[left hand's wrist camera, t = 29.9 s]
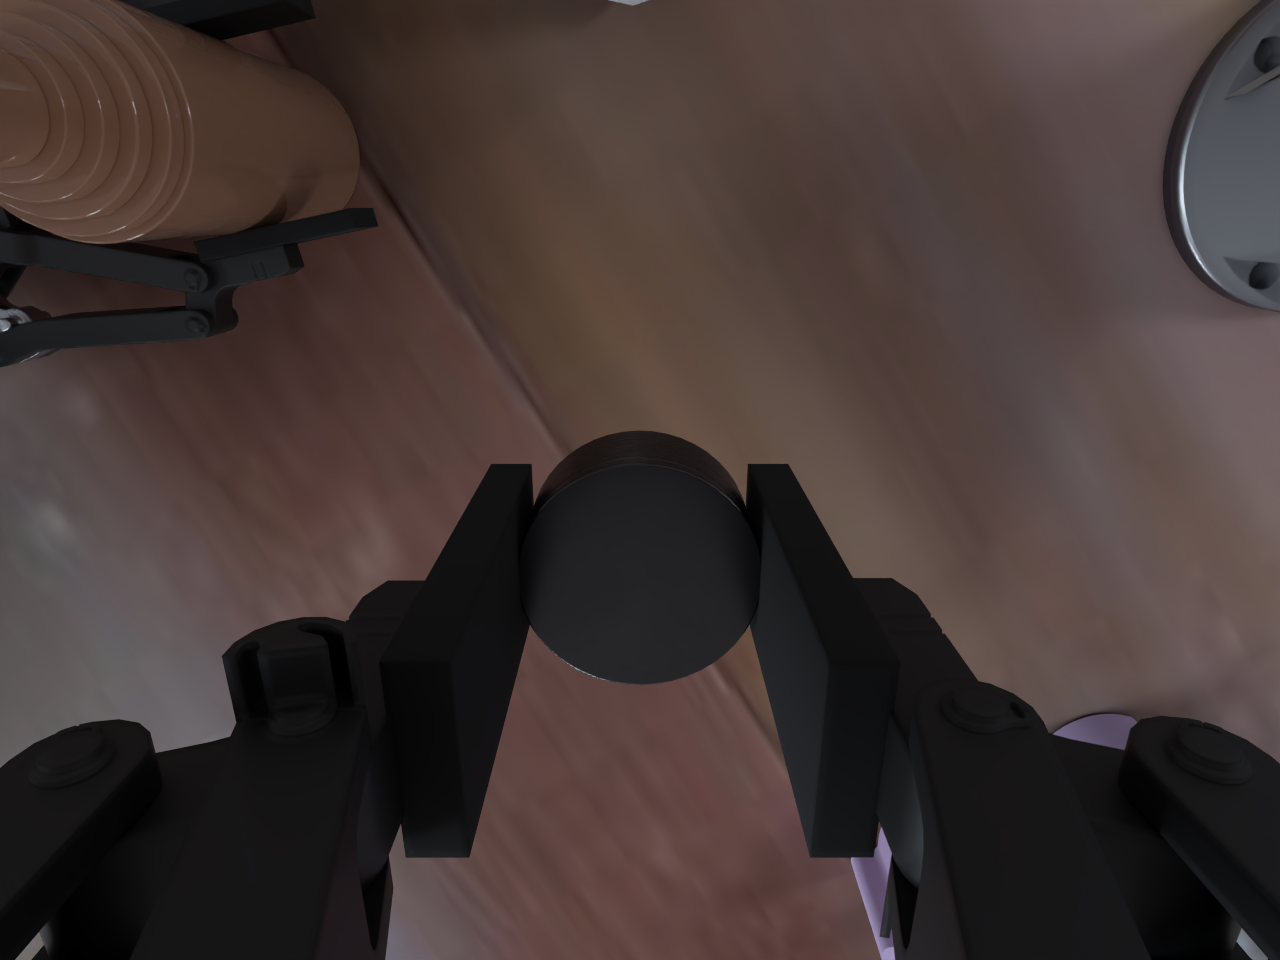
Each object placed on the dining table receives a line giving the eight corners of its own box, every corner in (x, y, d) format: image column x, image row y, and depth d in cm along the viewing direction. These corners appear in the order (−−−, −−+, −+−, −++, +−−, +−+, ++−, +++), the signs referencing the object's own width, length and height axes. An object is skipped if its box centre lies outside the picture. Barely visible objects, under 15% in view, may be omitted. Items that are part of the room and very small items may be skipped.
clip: (1099, 672, 46) (1176, 751, 39) (1193, 799, 49) (1278, 891, 42) (826, 838, 50) (854, 932, 43) (929, 943, 53) (968, 1046, 47)
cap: (765, 442, 14) (784, 478, 12) (730, 637, 15) (742, 695, 13) (538, 418, 14) (523, 450, 12) (524, 618, 15) (509, 673, 13)
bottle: (387, 194, 37) (128, 184, 18) (260, 252, 38) (-110, 300, 19) (311, 38, 34) (-75, -156, 16) (177, 104, 35) (-333, -6, 17)
